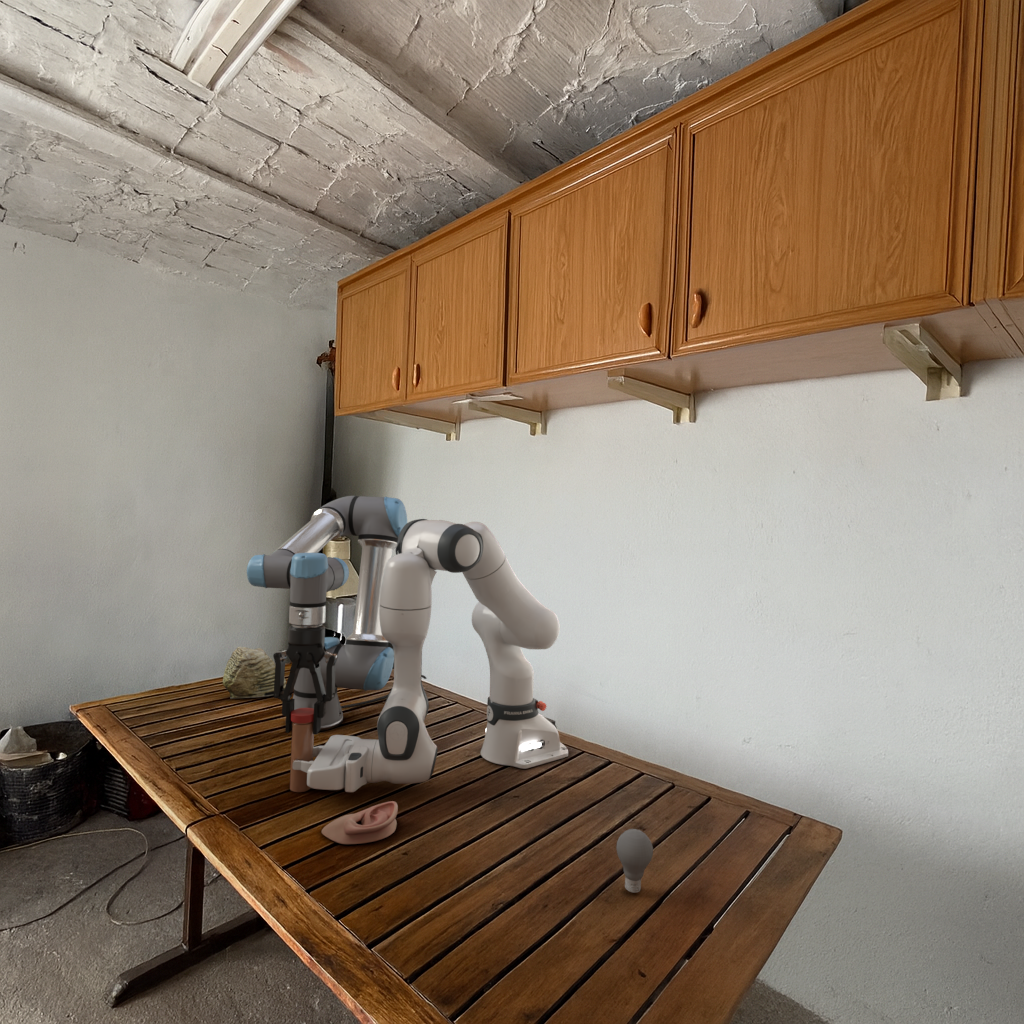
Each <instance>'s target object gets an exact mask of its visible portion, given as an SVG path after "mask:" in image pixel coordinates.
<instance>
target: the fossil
mask: <svg viewBox="0 0 1024 1024" xmlns="http://www.w3.org/2000/svg"><path fill="white" fill-rule="evenodd" d="M222 676H223V677H222V685H223V687H224V688H225V690H226V691H228V693H229V698H230V699H250V698H264V697H271V696H272V697H273V695H274V679H275V660H274V659H272V658H271V657H270V656H269V655H268V654H267V653H266V652H265V650H264V649H263V648H260V647H258V648H251V647H247V646H246V647H245V646H238V647H237V648H236V649H235V650H233V651H232V653H231V656H230V657H229V659H228V660H227V663H226V666H225V668H224V671H223V675H222ZM285 677H286V676H284V689H285V686H286V683H287V680H286V678H285ZM284 689H283V692H284Z"/></svg>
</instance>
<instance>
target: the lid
mask: <svg viewBox="0 0 1024 1024" xmlns="http://www.w3.org/2000/svg"><path fill="white" fill-rule="evenodd" d="M313 719H314V709H313V708H299V709H295V710H293V711H292V712H291V721H292V722H294V723H309V722H312V721H313Z"/></svg>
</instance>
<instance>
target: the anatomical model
mask: <svg viewBox="0 0 1024 1024" xmlns="http://www.w3.org/2000/svg"><path fill="white" fill-rule="evenodd" d="M398 809H399V806H398V803H397V802H396V801H393V800H392V801H391V800H390V801H385V802H381V803H378V804H376V805H372V806H370V807H368V808H365V809H363V810H360V811H358V812H355V813H350V814H344V815H342V816H340V817H338V818H336V819H334V820H332V821H331V822H329V823H327V824H326V825H325V826H323V828H322V829H321V834H322V835H323V836H324V837H325V838H327V839H328V840H331V841H333V842H335V843H337V844H341V845H357V844H358V845H359V844H367V843H372V842H377V841H380V840H384V839H385V838H388V837H389V836H391V835H392V834H393V833H395V831H396V829H397V826H398V823H397V820H396V819H397V815H398V812H399V811H398Z"/></svg>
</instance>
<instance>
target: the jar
mask: <svg viewBox="0 0 1024 1024" xmlns="http://www.w3.org/2000/svg"><path fill="white" fill-rule="evenodd" d="M314 743H315V734H313V721H312V722H309V723H294V722H292V730H291V745H290V769H289V770H290V771H289V772H290V773H289V774H290V775H289V790H290V791H291V792H293V793H304V792H308V791H310V790H312V788H311V787H309V786H307V773H306V772H304V771H301V770H294V769H293V762H294V761H295V759H303V761H307V762H309V761H314V757H313V748H314V747H315V745H314Z"/></svg>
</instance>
